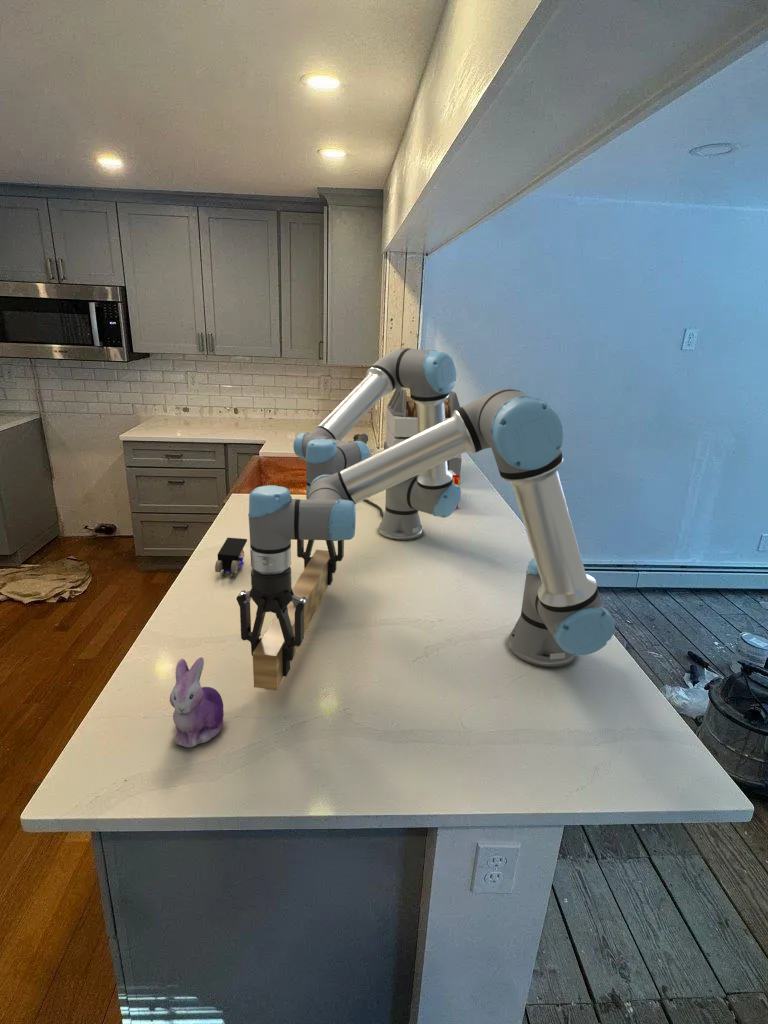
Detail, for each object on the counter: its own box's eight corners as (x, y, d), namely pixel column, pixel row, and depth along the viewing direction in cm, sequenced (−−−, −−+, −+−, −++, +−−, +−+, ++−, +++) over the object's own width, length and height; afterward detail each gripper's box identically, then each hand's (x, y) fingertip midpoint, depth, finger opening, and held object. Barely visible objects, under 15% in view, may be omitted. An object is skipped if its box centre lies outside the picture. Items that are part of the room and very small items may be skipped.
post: (316, 575, 158) (316, 549, 156) (332, 576, 158) (333, 551, 155) (253, 687, 111) (252, 653, 108) (277, 690, 110) (276, 656, 108)
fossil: (344, 439, 317) (365, 424, 312) (355, 453, 320) (376, 438, 315) (338, 453, 298) (360, 437, 293) (349, 467, 300) (371, 451, 295)
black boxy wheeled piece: (238, 584, 162) (249, 557, 175) (236, 562, 158) (247, 536, 172) (215, 584, 161) (227, 556, 175) (212, 561, 158) (225, 535, 171)
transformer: (382, 463, 289) (386, 382, 275) (445, 464, 293) (451, 384, 279) (390, 482, 257) (394, 392, 243) (460, 483, 261) (468, 394, 247)
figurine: (177, 757, 98) (169, 685, 93) (168, 720, 106) (161, 652, 101) (232, 741, 102) (228, 671, 97) (219, 707, 111) (215, 640, 105)
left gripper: (282, 502, 143) (284, 584, 151) (352, 508, 141) (350, 591, 149) (291, 493, 150) (292, 572, 158) (357, 498, 148) (355, 579, 156)
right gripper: (218, 570, 105) (224, 676, 113) (312, 580, 103) (311, 687, 111) (233, 554, 112) (238, 655, 120) (321, 563, 110) (320, 665, 118)
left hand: (320, 581), depth 153 cm, fingers closed on post, 5 cm apart
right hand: (273, 670), depth 115 cm, fingers closed on post, 5 cm apart
